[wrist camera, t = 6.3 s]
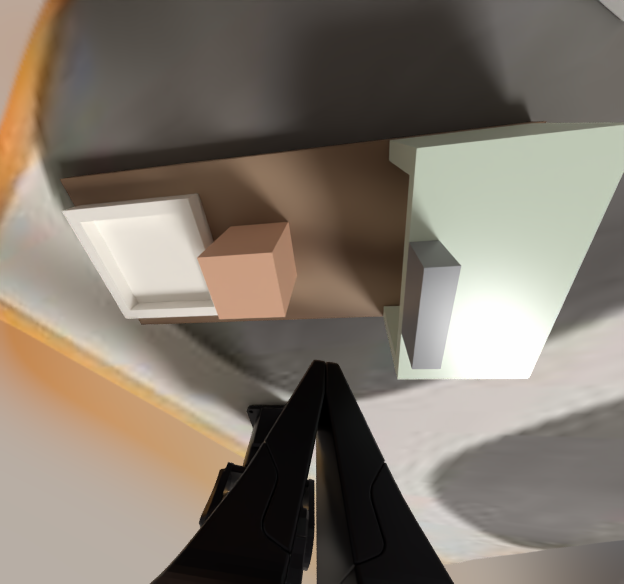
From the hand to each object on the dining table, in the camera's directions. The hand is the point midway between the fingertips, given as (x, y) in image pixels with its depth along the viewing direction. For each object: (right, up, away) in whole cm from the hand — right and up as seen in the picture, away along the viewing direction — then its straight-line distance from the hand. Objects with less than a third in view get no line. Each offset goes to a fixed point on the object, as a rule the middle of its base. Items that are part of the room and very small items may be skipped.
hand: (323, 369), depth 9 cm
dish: (-11, +5, +11) cm, 16 cm away
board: (-2, +6, +10) cm, 12 cm away
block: (-4, +5, +10) cm, 12 cm away
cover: (+8, +6, +8) cm, 13 cm away
